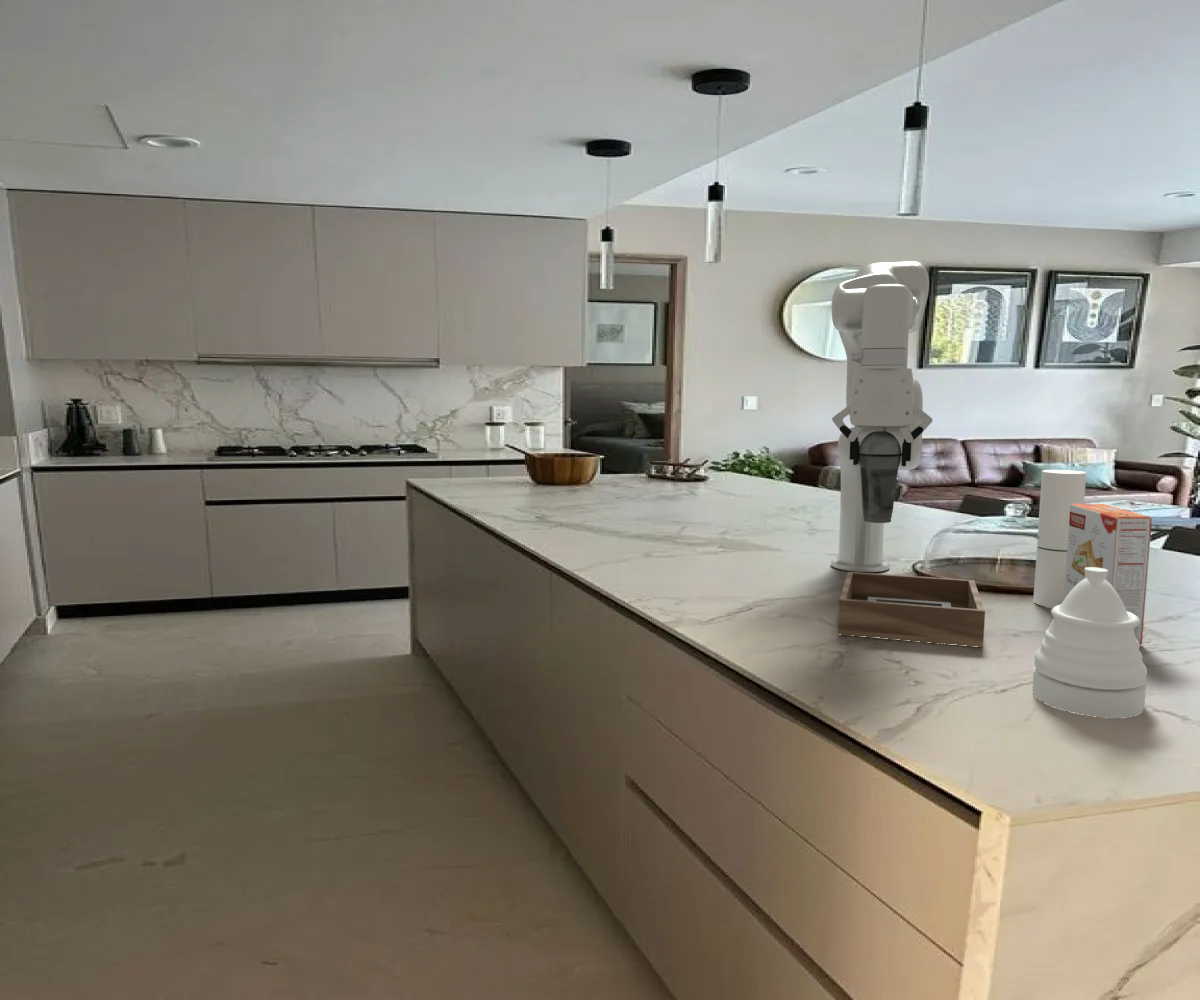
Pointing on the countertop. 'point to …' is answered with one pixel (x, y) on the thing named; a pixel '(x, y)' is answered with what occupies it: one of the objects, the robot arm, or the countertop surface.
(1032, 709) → the countertop surface
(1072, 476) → the cylindrical container
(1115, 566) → the cracker box
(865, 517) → the beverage cup
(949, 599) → the walled box
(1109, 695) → the honey pot
